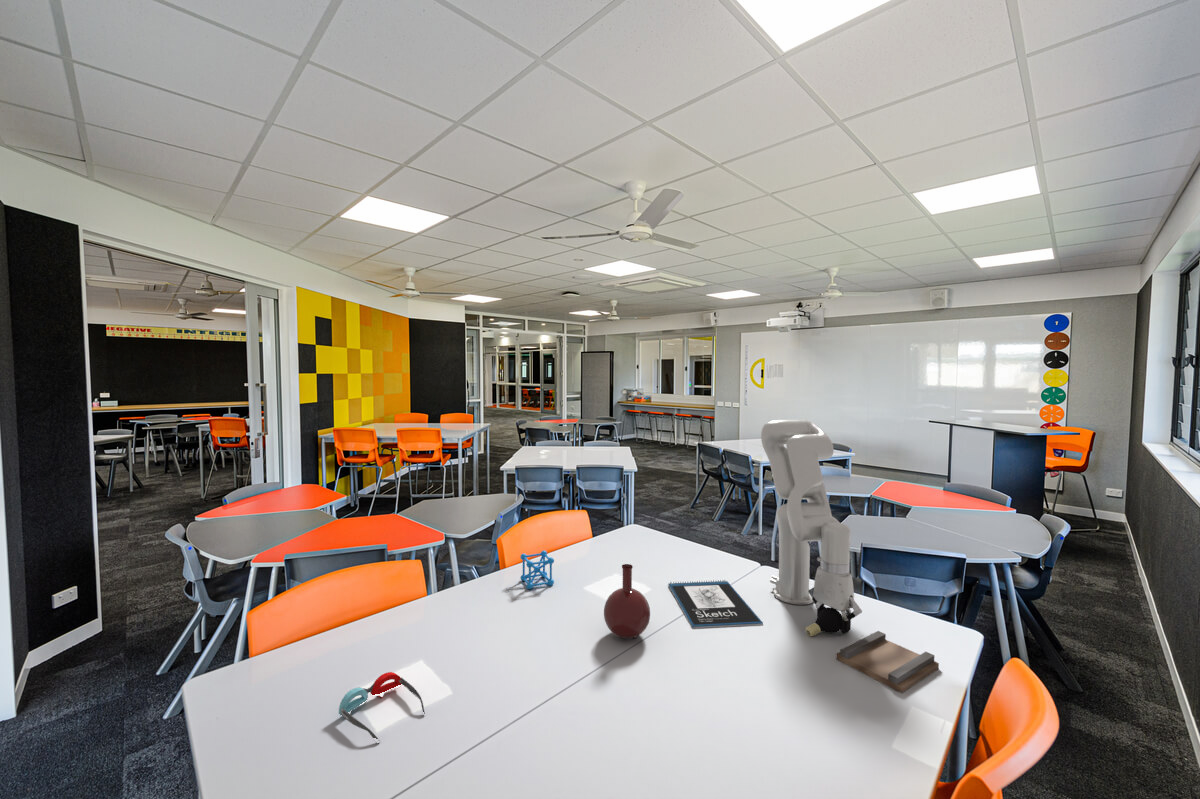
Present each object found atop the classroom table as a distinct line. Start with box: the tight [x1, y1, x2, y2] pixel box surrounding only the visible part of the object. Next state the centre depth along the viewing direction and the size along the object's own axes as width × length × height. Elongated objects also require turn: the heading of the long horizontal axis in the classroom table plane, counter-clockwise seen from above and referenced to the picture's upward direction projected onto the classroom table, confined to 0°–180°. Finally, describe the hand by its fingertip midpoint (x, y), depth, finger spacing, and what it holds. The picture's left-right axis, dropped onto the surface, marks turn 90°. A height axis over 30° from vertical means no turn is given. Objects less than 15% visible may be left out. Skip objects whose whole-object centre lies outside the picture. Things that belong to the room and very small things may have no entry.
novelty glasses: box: [338, 671, 426, 739], centre depth 104 cm, size 14×15×5 cm
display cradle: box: [835, 630, 940, 693], centre depth 123 cm, size 16×18×3 cm
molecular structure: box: [519, 550, 555, 590], centre depth 171 cm, size 10×10×10 cm
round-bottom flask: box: [603, 563, 651, 640], centre depth 136 cm, size 13×13×20 cm
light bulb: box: [805, 606, 843, 637], centre depth 138 cm, size 7×7×12 cm
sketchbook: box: [667, 579, 764, 629], centre depth 156 cm, size 22×30×2 cm
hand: (833, 626), depth 139 cm, fingers closed on light bulb, 6 cm apart
